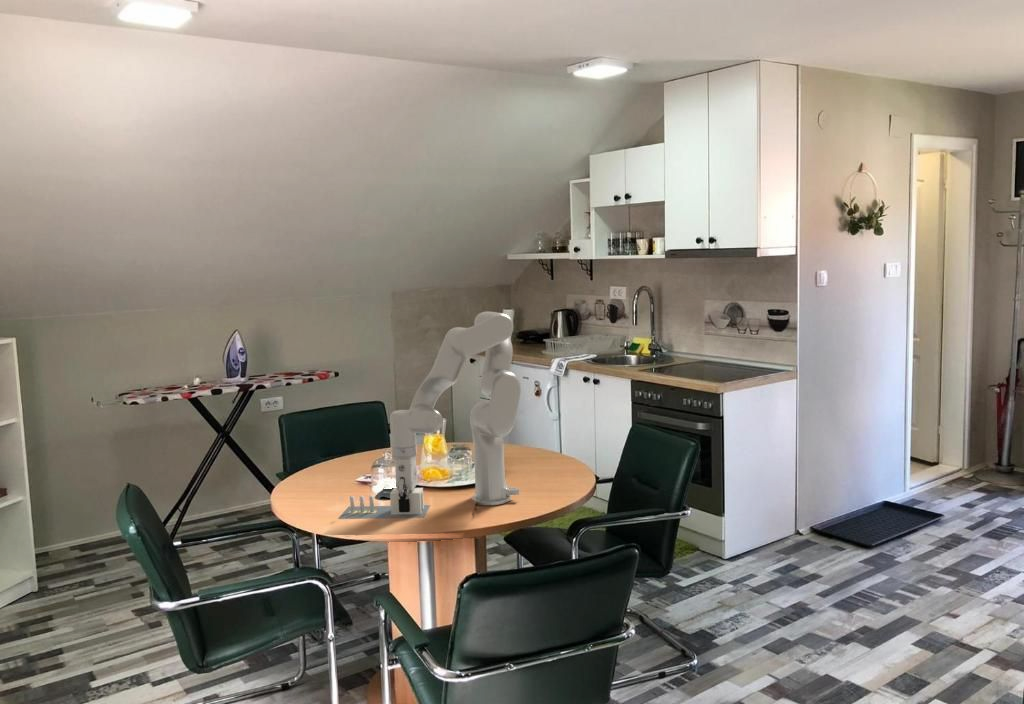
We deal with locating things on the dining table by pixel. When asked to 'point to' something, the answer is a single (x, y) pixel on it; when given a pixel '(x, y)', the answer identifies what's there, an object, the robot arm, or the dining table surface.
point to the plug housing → (414, 499)
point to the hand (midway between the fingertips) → (407, 507)
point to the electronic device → (384, 493)
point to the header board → (375, 511)
